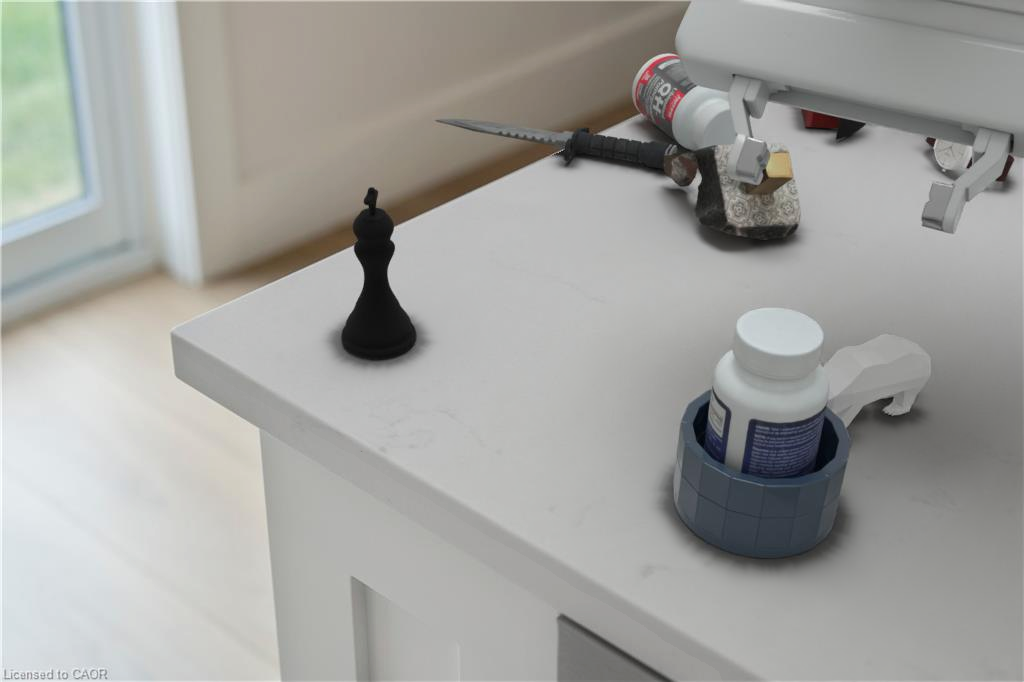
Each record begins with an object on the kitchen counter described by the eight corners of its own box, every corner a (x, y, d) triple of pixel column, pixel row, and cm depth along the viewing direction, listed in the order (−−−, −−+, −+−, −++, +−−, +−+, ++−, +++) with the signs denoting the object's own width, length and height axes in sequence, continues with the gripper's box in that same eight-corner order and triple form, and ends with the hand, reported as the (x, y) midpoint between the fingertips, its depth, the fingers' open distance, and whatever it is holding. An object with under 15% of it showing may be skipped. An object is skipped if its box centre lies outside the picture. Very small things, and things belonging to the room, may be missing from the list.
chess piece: (330, 353, 73) (318, 200, 67) (356, 313, 76) (347, 165, 71) (403, 364, 72) (397, 211, 66) (425, 324, 75) (421, 174, 70)
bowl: (774, 436, 67) (786, 368, 64) (868, 530, 61) (885, 459, 58) (644, 474, 64) (651, 405, 62) (729, 577, 58) (740, 505, 56)
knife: (449, 120, 101) (422, 141, 97) (448, 97, 100) (422, 118, 96) (680, 158, 95) (662, 182, 91) (682, 134, 94) (665, 158, 90)
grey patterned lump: (720, 120, 92) (831, 123, 82) (737, 210, 94) (847, 224, 84) (629, 151, 89) (732, 159, 78) (648, 243, 91) (751, 262, 80)
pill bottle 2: (826, 486, 63) (860, 324, 57) (776, 544, 59) (807, 378, 54) (731, 444, 65) (755, 285, 60) (678, 497, 62) (698, 334, 56)
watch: (998, 144, 89) (967, 187, 90) (1034, 166, 91) (1003, 208, 93) (929, 103, 95) (901, 145, 96) (965, 126, 97) (937, 166, 98)
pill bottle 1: (627, 62, 97) (693, 111, 90) (686, 43, 99) (756, 89, 91) (631, 124, 101) (695, 175, 93) (689, 104, 102) (756, 153, 95)
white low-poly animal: (925, 409, 69) (943, 340, 67) (812, 451, 66) (826, 380, 63) (894, 385, 71) (911, 317, 68) (783, 425, 68) (795, 355, 65)
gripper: (716, -128, 62) (619, 126, 60) (1163, -62, 54) (1064, 234, 52) (738, -60, 67) (650, 174, 66) (1144, 9, 59) (1055, 278, 58)
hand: (836, 201), depth 59 cm, fingers open, 8 cm apart
